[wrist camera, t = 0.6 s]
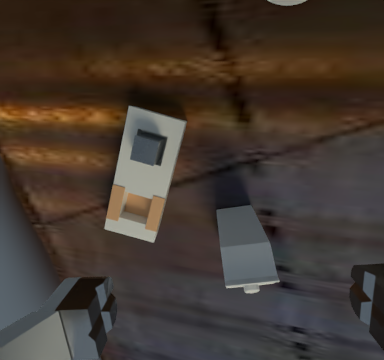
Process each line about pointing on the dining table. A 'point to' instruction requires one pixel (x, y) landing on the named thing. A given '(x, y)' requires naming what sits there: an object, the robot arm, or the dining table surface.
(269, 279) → the milk carton
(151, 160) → the dark gray block
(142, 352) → the dining table surface
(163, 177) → the socket rail
